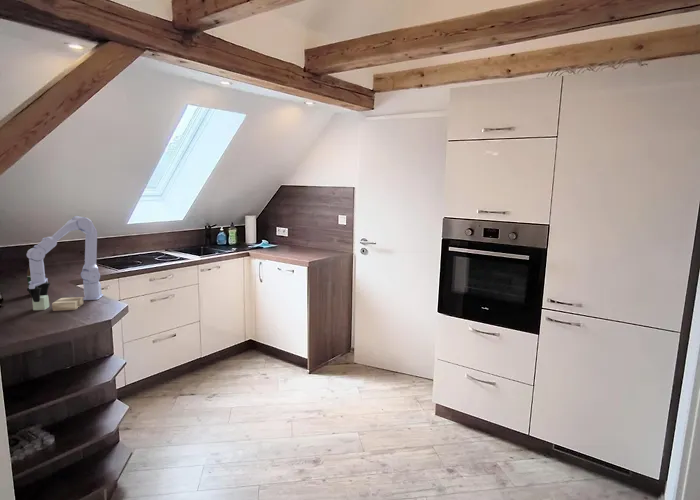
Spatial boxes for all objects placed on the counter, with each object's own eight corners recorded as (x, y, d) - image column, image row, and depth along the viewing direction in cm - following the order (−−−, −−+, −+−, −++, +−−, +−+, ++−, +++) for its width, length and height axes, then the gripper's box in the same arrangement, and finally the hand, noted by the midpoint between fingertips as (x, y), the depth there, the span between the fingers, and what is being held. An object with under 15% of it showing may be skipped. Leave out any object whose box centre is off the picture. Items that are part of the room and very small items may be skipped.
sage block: (38, 307, 216) (36, 295, 215) (49, 306, 217) (48, 295, 216) (33, 310, 211) (31, 298, 210) (44, 309, 212) (43, 297, 211)
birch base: (61, 305, 221) (61, 297, 220) (83, 304, 223) (82, 296, 222) (52, 311, 211) (52, 303, 210) (75, 310, 213) (74, 302, 212)
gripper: (35, 269, 217) (38, 296, 220) (20, 276, 203) (23, 304, 206) (51, 269, 219) (53, 295, 221) (37, 275, 205) (40, 303, 207)
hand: (40, 299), depth 213 cm, fingers open, 7 cm apart
